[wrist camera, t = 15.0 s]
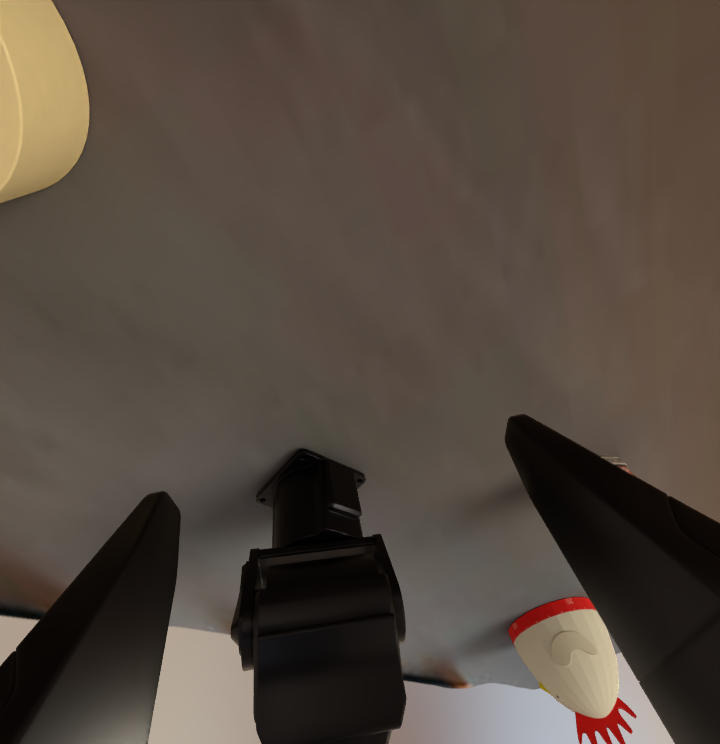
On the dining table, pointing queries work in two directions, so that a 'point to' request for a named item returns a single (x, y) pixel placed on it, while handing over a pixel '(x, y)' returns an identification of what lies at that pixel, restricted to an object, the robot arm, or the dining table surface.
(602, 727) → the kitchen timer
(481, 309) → the dining table surface
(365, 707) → the robot arm
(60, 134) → the tape roll
